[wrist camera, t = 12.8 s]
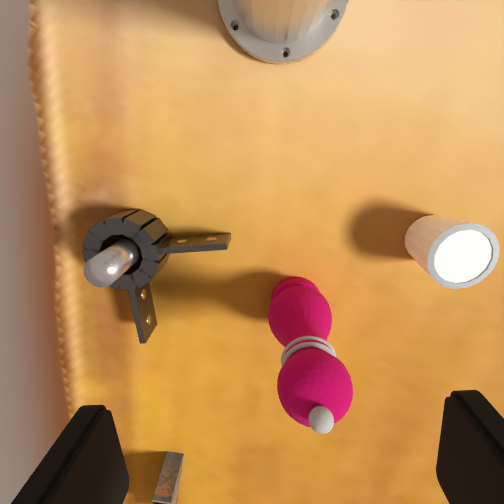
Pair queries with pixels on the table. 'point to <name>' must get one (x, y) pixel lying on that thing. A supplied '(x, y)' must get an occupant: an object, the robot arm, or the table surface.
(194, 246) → the hinge
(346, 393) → the pepper mill
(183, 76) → the table surface
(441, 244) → the white cup
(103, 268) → the hinge pin
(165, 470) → the rusty metal bracket
